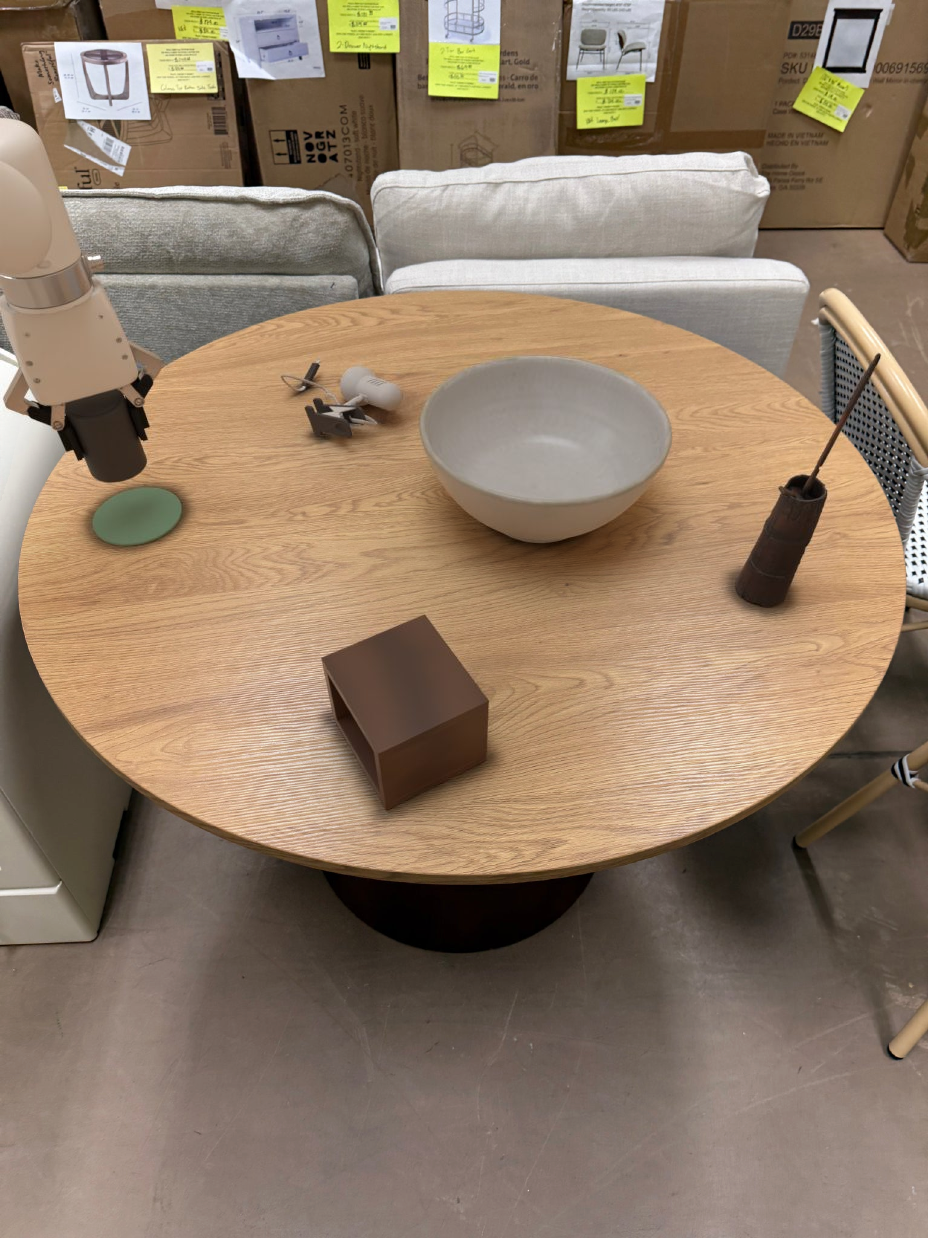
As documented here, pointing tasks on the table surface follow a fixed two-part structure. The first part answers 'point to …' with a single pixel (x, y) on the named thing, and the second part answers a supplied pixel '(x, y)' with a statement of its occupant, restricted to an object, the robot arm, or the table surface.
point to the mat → (137, 516)
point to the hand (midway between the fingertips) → (109, 442)
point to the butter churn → (790, 526)
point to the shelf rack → (407, 709)
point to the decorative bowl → (544, 444)
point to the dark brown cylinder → (107, 436)
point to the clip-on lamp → (349, 400)
